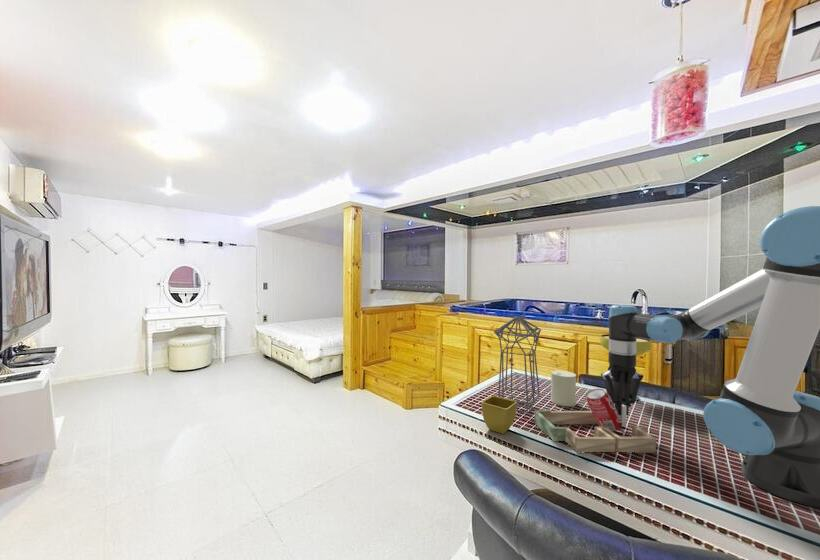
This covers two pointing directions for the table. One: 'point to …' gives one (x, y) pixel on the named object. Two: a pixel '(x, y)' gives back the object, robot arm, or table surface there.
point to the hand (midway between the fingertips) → (621, 424)
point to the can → (563, 388)
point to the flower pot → (499, 413)
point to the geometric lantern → (498, 332)
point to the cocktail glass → (641, 346)
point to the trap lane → (602, 435)
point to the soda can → (603, 409)
